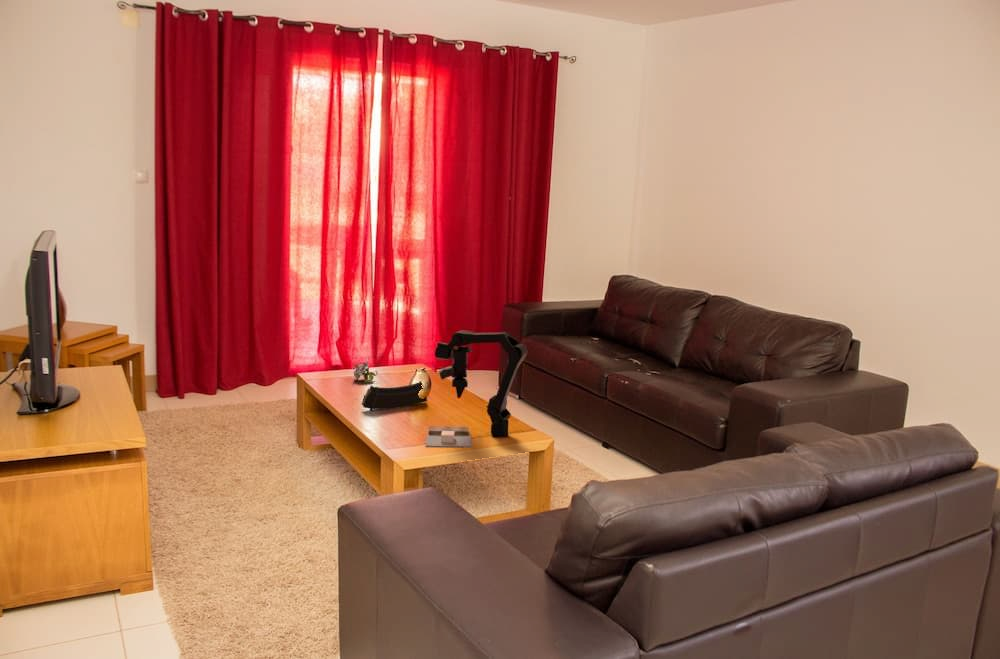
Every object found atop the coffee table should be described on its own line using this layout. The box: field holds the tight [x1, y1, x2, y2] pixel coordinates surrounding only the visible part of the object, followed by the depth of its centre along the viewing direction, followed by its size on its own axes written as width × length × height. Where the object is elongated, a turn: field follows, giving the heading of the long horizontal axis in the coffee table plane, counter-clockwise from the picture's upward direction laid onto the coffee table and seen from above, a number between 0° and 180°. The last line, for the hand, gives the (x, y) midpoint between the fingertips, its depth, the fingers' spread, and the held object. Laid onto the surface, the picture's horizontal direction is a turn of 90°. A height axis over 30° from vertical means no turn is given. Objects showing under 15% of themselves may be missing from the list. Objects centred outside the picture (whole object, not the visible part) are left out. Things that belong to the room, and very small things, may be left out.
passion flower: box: [352, 360, 378, 384], centre depth 405 cm, size 11×11×12 cm
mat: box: [425, 434, 473, 448], centre depth 324 cm, size 18×13×1 cm
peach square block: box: [441, 431, 455, 443], centre depth 324 cm, size 5×5×3 cm
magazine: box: [361, 381, 428, 411], centre depth 365 cm, size 17×3×30 cm
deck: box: [428, 425, 469, 435], centre depth 333 cm, size 16×6×2 cm, turn 94°
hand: (458, 397), depth 338 cm, fingers closed
